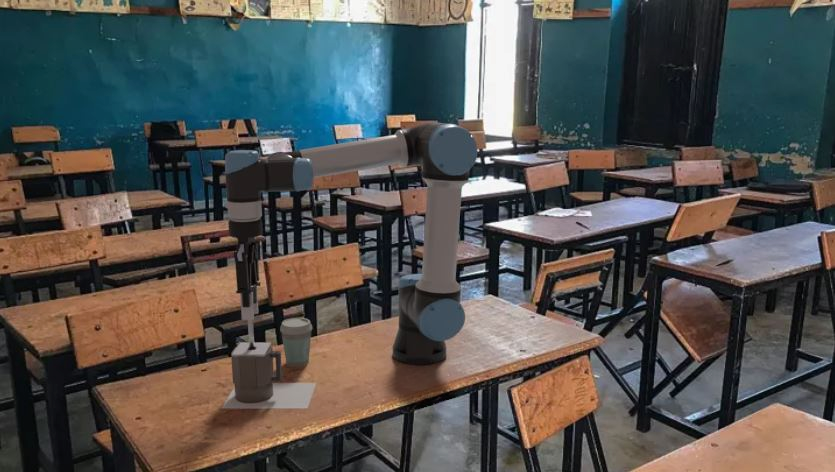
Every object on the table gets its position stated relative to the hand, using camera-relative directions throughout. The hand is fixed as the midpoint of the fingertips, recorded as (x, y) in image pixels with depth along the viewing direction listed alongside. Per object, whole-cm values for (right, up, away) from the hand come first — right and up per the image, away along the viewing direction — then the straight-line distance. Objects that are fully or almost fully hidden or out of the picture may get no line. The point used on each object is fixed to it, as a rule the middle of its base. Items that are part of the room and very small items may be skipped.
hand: (250, 316), depth 161 cm
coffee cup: (+7, -16, +24) cm, 30 cm away
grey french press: (+1, -20, +4) cm, 20 cm away
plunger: (0, -9, +2) cm, 9 cm away
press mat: (+4, -20, +4) cm, 21 cm away
